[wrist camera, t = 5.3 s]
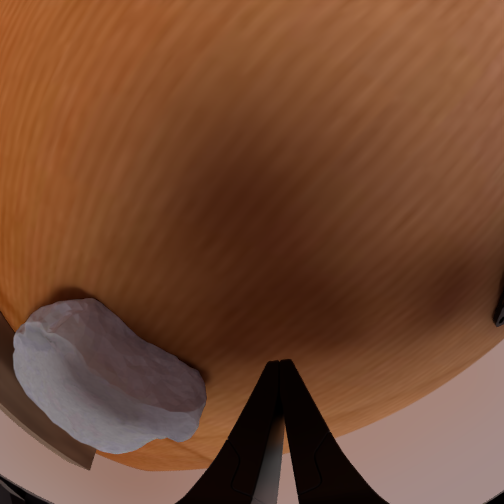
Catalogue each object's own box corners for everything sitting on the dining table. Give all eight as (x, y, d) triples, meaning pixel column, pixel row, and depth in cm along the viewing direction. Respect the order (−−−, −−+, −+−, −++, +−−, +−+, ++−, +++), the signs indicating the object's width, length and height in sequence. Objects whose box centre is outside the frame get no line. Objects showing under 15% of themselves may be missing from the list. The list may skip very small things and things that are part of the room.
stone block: (38, 335, 16) (128, 424, 17) (0, 368, 11) (103, 466, 13) (90, 237, 12) (229, 379, 13) (18, 275, 7) (205, 453, 9)
